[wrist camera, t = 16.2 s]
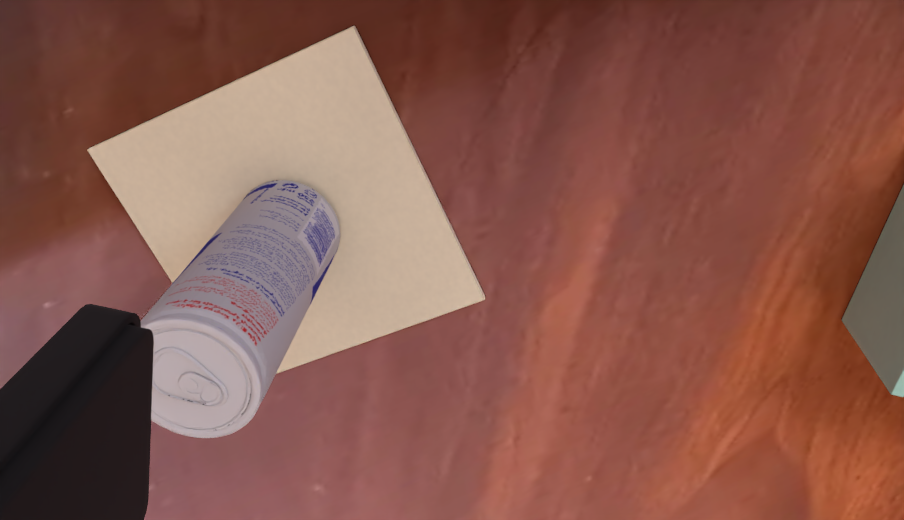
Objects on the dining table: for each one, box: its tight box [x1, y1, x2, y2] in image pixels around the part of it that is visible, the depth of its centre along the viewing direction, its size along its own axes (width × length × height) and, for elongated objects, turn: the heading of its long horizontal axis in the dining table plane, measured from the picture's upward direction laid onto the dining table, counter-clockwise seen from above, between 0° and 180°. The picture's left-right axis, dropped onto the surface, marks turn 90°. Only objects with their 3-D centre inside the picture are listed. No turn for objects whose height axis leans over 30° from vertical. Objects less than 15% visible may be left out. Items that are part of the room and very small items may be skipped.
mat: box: [87, 26, 485, 374], centre depth 45 cm, size 16×16×1 cm
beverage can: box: [140, 180, 340, 438], centre depth 38 cm, size 6×6×15 cm
